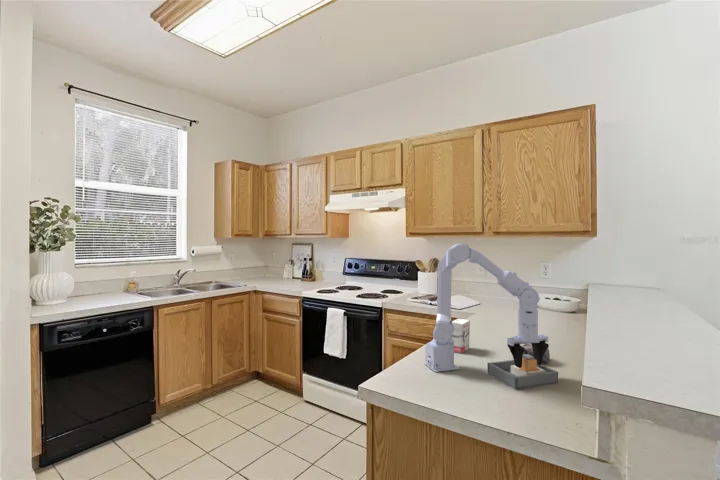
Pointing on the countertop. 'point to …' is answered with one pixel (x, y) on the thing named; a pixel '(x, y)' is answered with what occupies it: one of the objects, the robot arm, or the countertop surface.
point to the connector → (528, 363)
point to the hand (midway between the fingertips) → (527, 365)
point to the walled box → (522, 375)
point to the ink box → (461, 335)
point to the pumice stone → (530, 351)
